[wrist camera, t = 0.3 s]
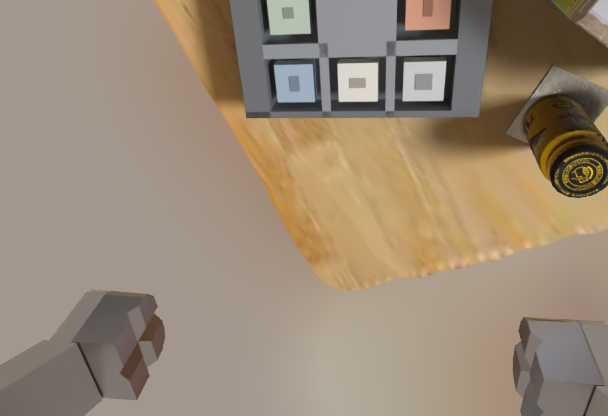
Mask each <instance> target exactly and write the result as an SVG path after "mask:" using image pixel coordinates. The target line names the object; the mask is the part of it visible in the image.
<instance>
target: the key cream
mask: <svg viewBox="0 0 608 416" xmlns="http://www.w3.org/2000/svg"><path fill="white" fill-rule="evenodd" d="M337 67H338V93H339V102H378V72H379V58H361V59H339V60H338V63H337Z"/></svg>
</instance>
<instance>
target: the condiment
mask: <svg viewBox="0 0 608 416" xmlns="http://www.w3.org/2000/svg"><path fill="white" fill-rule="evenodd" d="M560 89H561V91H559V92H557V93H553V92H556V91H558V90H560ZM607 106H608V90H606V89H604V88H602V87H600V86H598V85H596V84H594V83H592V82H589V81H587V80H585V79H583V78H581V77H579V76H576V75H574V74H572V73H570V72H568V71H565V70H563V69H561V68H559V67H556V66H554V65H553V67H552V68H551V70H550V71H549V73H548V74H547V75H546V77H545V78H544V79H543V81H542V83H541V84H540V85H539V87H538V88H537V89H536V91H535V92H534V94H533V95H532V96H531V98H530V99H529V100H528V102H527V103H526V104H525V106H524V107H523V109H522V110H521V112H520V113H519V114H518V116H517V117H516V119H515V120H514V121H513V123H512V124H511V126H510V127H509V129H508V130H507V132H506V133H505V134H507V135H509V136H511V137H513V138H516V139H518V140H521V141H523V142H525V143H527V144H529V146H530V148H531V150H532V152H533V154H534V156H535V158H536V161H537V163H538V165H539V168H540V170H541V172H542V173H543V175H544V176H545V178H547V179H548V180H549V181H551V183H552V185H553V187H554V188H555V189H556V190H557V191H558V192H559V193H561V194H563V195H565V196H568V197H575V198H581V197H587V196H592V195H593V194H596V193H597V192H599V191H601V190H603V189H604V188H605V187H606V186H607V185H608V143H607V141H606V139H605V138H604V136H603V135H602V134H601V133H600V131H599V130H598V129H597V127H596V126H595V125H594V121H595V120H596V119H597V117H598V116H599V115H600V114H601V112H602V111H603V110H604V109H605V108H606V107H607Z"/></svg>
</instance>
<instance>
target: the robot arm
mask: <svg viewBox="0 0 608 416" xmlns="http://www.w3.org/2000/svg"><path fill="white" fill-rule="evenodd" d="M156 309H157V303H156V301H155V298H154V296H152V295H149V294H139V293H129V292H117V291H101V290H90V291H89V292H87V293H85V294H84V296H83V297H82V298H81V300H80V301H79V302H78V304H77V305H76V307H75V308H74V309H73V310H72V311H71V313H70V314H69V315H68V317H67V318H66V320H65V321H64V322H63V323H62V325H61V326H60V327H59V329H58V330H57V331H56V332H55V334H54V335H53V336H52V338H51V339H50V340H49V341H47V340H43V341H41V342H39V343H38V344H36V345H34V346H33V347H31V348H29V349H27V350H26V351H24V352H22V353H21V354H19V355H17V356H15V357H14V358H12V359H10V360H8V361H7V362H5V363H3V364H2V365H0V416H84V415H85V414H87V413H88V412H89V411H90V410H91V409H92V408H94V407H95V406H96V405H97V404H98V403H99V402H101V401H102V398H115V399H128V400H137V399H138V397H139V395H140V393H141V392H142V389H143V387H144V386H145V384H146V382H147V380H148V378H149V372H148V368H147V367H148V366H150V365H151V364H153V363H154V362H155V361H157V360H158V358H159V356H160V354H161V352H162V349H163V344H164V339H165V331H164V325H163V322H162V320H161V319H160V318H159V317H158V316H157V315H155V314H154V312H155V310H156ZM519 334H520V338H521V342H519V343H518V344H517V345H516V346H515V349H514V355H513V377H514V383H515V388H516V391H517V392H518V393H519V394H520V395H521V396H522V397H523V401H522V406H521V409H520V411H521V416H608V325H607V324H606V323H605V322H603V321H587V320H568V319H548V318H530V317H529V318H528V317H523V319H522V320H521V322H520V327H519Z"/></svg>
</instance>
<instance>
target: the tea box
mask: <svg viewBox="0 0 608 416" xmlns="http://www.w3.org/2000/svg"><path fill="white" fill-rule="evenodd" d="M551 1H552V2H553V3H554V4H555V5H556V6H557V7H558V8H559V9H560V10H561V11H562V12H563V13H564V14H565V15H566V16H567V17H568V18H569V19H570V20H571V21H572V22H573V23H574V24H576V25H577V26H578V27H580V28H581V29H583V30H584V31H585V32H587V33H588V34H589V35H591V36H592V37H593V38H595V39H596V40H597V41H599V42H600V43H601V44H603V45H604V46H605V47H607V48H608V0H551Z"/></svg>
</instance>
